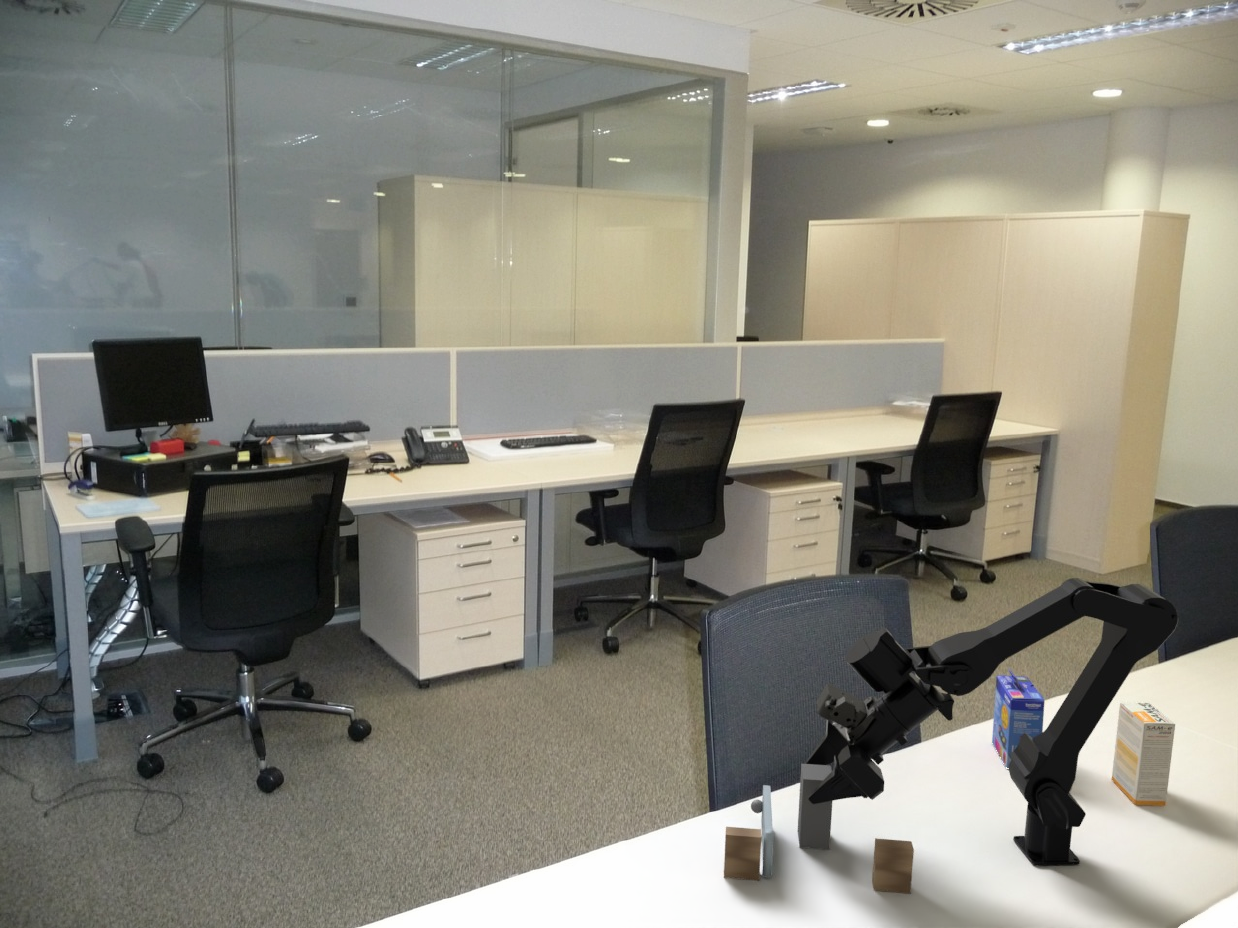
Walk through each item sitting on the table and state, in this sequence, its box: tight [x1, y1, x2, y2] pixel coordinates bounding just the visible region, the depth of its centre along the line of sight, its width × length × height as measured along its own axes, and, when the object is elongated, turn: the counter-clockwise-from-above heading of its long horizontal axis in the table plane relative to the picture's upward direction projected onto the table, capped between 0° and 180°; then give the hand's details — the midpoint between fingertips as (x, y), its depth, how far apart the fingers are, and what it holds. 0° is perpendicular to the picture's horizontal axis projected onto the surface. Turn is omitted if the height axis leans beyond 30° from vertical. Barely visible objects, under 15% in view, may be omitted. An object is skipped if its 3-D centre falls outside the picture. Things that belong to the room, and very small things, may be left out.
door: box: [750, 784, 775, 878], centre depth 139 cm, size 14×3×6 cm, turn 173°
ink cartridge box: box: [991, 668, 1045, 768], centre depth 167 cm, size 10×6×14 cm, turn 174°
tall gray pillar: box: [797, 763, 833, 851], centre depth 142 cm, size 4×4×10 cm
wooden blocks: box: [723, 826, 915, 894], centre depth 132 cm, size 23×2×6 cm, turn 83°
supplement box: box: [1111, 701, 1176, 807], centre depth 157 cm, size 8×5×13 cm, turn 179°
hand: (808, 784), depth 141 cm, fingers open, 9 cm apart
